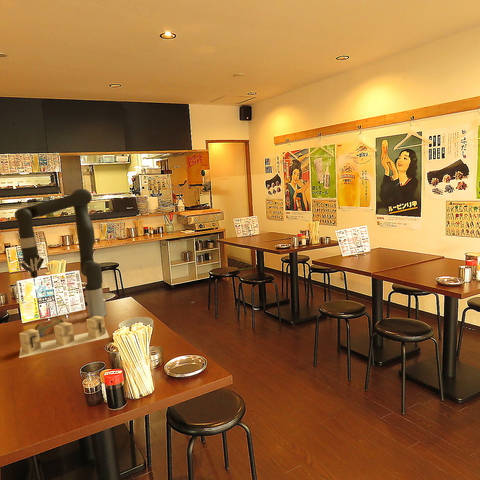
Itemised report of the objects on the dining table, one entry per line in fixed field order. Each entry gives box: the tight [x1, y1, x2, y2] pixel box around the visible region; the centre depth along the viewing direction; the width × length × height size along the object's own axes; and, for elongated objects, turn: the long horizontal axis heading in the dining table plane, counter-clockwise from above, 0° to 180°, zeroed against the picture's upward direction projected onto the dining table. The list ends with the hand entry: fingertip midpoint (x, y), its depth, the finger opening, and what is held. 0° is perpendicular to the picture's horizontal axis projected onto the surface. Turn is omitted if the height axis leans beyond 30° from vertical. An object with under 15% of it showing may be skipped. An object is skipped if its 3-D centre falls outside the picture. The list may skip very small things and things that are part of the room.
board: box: [18, 328, 110, 359], centre depth 195 cm, size 40×14×1 cm, turn 116°
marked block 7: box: [18, 328, 41, 353], centre depth 187 cm, size 6×6×9 cm
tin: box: [34, 317, 65, 339], centre depth 207 cm, size 15×3×8 cm, turn 143°
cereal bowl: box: [118, 316, 154, 330], centre depth 198 cm, size 17×17×7 cm
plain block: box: [54, 321, 75, 345], centre depth 194 cm, size 6×6×9 cm
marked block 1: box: [86, 316, 107, 338], centre depth 200 cm, size 6×6×9 cm
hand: (34, 277), depth 210 cm, fingers closed
